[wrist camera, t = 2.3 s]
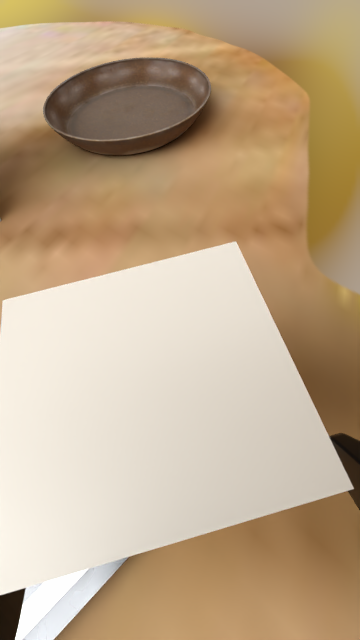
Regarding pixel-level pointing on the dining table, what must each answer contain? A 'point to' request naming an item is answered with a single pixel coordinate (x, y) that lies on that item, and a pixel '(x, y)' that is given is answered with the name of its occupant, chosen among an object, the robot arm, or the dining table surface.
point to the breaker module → (148, 416)
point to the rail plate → (60, 601)
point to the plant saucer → (128, 105)
